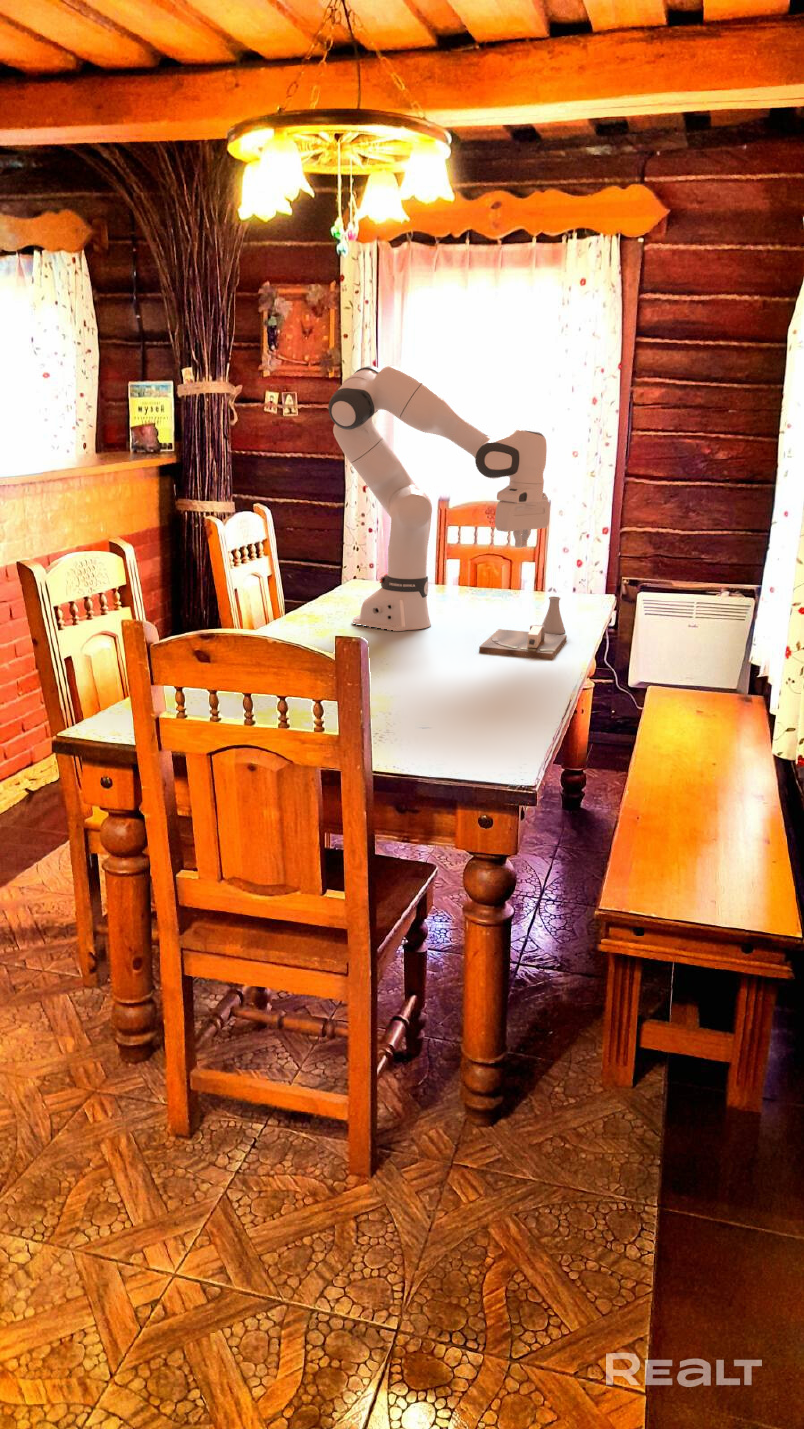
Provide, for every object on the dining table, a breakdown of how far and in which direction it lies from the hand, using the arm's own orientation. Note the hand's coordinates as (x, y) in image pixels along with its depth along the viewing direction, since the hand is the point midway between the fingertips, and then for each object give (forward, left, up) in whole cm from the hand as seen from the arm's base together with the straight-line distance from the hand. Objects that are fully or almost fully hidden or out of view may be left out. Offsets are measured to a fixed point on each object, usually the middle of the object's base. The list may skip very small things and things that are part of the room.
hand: (520, 546), depth 274 cm
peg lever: (+7, -7, -24) cm, 26 cm away
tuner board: (+3, -4, -26) cm, 26 cm away
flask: (+7, +16, -26) cm, 31 cm away
